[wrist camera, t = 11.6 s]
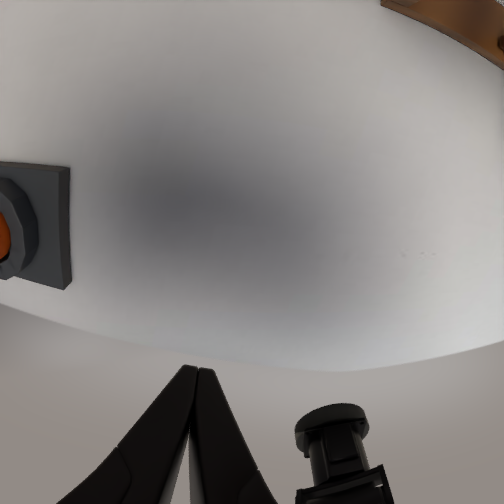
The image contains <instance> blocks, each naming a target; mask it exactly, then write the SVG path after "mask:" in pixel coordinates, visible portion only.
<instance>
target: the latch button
mask: <svg viewBox="0 0 504 504" xmlns="http://www.w3.org/2000/svg"><path fill="white" fill-rule="evenodd" d="M10 245H11V236H10V229H9V227H8V225H7V223H6V220H5V218H4V216H3V214H2V213H1V212H0V259H1V258H2V257H4V256H5V255H6V254H7V253H8V251H9V249H10Z"/></svg>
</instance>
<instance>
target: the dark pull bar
mask: <svg viewBox="0 0 504 504" xmlns="http://www.w3.org/2000/svg"><path fill="white" fill-rule="evenodd" d="M500 48H502V49H503V50H504V35H502V36H500Z"/></svg>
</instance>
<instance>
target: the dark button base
mask: <svg viewBox="0 0 504 504" xmlns="http://www.w3.org/2000/svg"><path fill="white" fill-rule="evenodd" d="M68 192H69V168H67V167H58V166H47V165H37V164H25V163H12V162H0V212H1V213H2V214H3V216H4V218H5V220H6V223H7V225H8V227H9V229H10V236H11V245H10V249H9V251H8V253H7V254H6V255H5V256H4V257H2V258H1V259H0V279H3V280H7V279H9V278H11V277H13V276H16V277H19V278H22V279H26V280H29V281H32V282H36V283H39V284H43V285H46V286H50V287H54V288H57V289H61V290H64V289H65V288H66V287H67V286H68V285H69V284H70V282H71V281H72V280H71V268H70V252H69V227H68Z"/></svg>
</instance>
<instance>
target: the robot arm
mask: <svg viewBox="0 0 504 504" xmlns="http://www.w3.org/2000/svg"><path fill="white" fill-rule="evenodd" d="M366 422H367V421H366V418H364V417H363V418H358V419H353V420H349V421H344V422H339V423H334V424H328V425H322V426H317V427H310V428H306V429H305V430H304V457H305V458H310V462H311V468H312V474H313V481H314V487H310V488H306V489H299V490H297V495H296V497H295V504H394V500H393V497H392V493H391V490H390V487H389V483H388V480H387V477H386V474H385V470H384V467H383V464H381V465H378V466H377V467H375V468H373V469H370V467H369V464H368V460H367V457H366V453H365V450H364V447H363V443H362V437H363V434H364V430H365V426H366ZM189 429H190V430H189ZM188 435H189V479H190V500H191V501H190V502H191V504H278V503H277V502H276V500H275V499H274V497H273V496H272V494H271V492H270V490H269V488H268V487H267V485H266V483H265V481H264V479H263V477H262V475H261V473H260V471H259V470H257V469H258V467H257V465H256V463H255V461H254V459H253V457H252V455H251V453H250V451H249V448H248V446H247V444H246V442H245V440H244V438H243V436H242V433H241V431H240V429H239V427H238V425H237V422H236V420H235V418H234V416H233V413H232V411H231V409H230V407H229V404H228V402H227V400H226V397H225V395H224V393H223V390H222V388H221V385H220V383H219V381H218V378H217V376H216V373H215V371H214V370H213V369H208V368H202V367H201V368H199V370H198V367H196V366H190V365H183V366H182V367H181V368H180V369H179V371H178V372H177V373H176V374H175V376H174V377H173V378H172V379H171V380H170V382H169V383H168V384H167V385H166V387H165V388H164V389H163V390H162V392H161V393H160V394H159V395H158V396H157V398H156V399H155V400H154V401H153V403H152V404H151V405H150V406H149V408H148V409H147V410H146V411H145V413H144V414H143V415H142V416H141V417H140V419H139V420H138V421H137V422H136V423H135V424H134V426H133V427H132V428H131V429H130V430H129V432H128V433H127V434H126V435H125V437H124V438H123V439H122V440H121V441H120V443H119V444H118V445H117V447H115V448H114V449H113V451H112V452H111V453H110V454H109V455H108V457H107V458H106V459H105V460H104V461H103V462H102V463H101V464H100V465H99V466H98V467H97V469H96V470H95V471H93V472H92V473H91V474H90V475H89V476H88V477H87V478H86V479H85V480H84V481H83V482H82V483H80V484H79V485H78V486H77V487H76V488H74V489H73V490H72V491H71V492H70V493H68V494H67V495H66V496H65V497H64V498H63V499H61V500H60V501H59V502H58V503H56V504H170V502H171V499H172V495H173V491H174V487H175V484H176V480H177V477H178V473H179V469H180V465H181V462H182V459H183V455H184V451H185V448H186V444H187V440H188ZM380 484H383V486H381V487H375V486H377V485H380Z"/></svg>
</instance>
